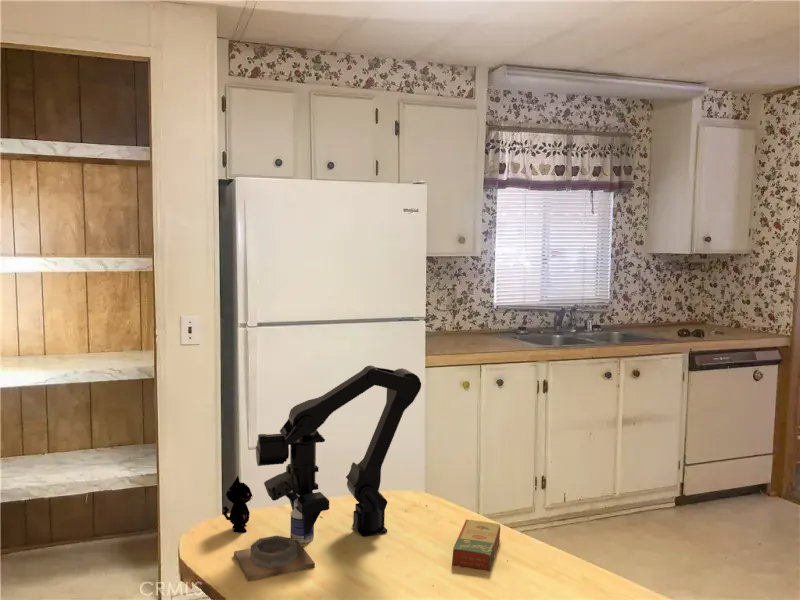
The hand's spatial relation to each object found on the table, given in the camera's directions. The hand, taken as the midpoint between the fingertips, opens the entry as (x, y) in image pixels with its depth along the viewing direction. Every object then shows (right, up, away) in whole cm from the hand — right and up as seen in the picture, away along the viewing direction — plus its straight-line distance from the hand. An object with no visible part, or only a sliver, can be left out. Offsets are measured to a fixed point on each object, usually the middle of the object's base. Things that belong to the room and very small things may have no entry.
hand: (302, 528), depth 154 cm
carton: (+39, -4, -4) cm, 40 cm away
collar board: (-4, -3, -11) cm, 12 cm away
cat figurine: (-16, -2, +5) cm, 17 cm away
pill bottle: (0, -3, 0) cm, 3 cm away
